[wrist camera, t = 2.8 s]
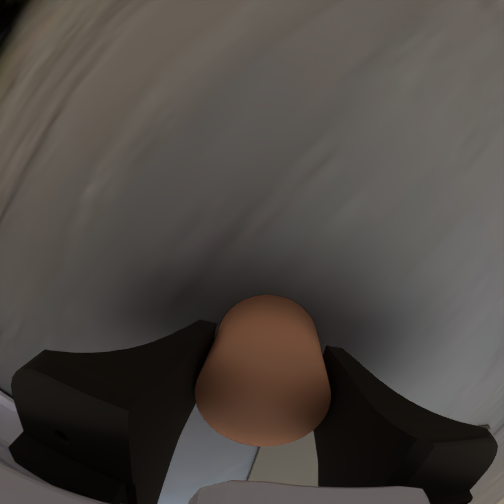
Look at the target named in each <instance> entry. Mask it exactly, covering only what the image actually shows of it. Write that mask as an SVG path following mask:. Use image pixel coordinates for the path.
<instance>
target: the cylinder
mask: <svg viewBox="0 0 504 504" xmlns="http://www.w3.org/2000/svg"><path fill="white" fill-rule="evenodd" d="M195 399H196V404H197V407H198V409H199V411H200V413H201V415H202V417H203V418H204V420H205V421H206V422H207V423H208V424H209V425H210V426H211V427H212V428H213V429H214V430H216V431H217V432H218V433H220V434H221V435H223V436H225V437H227V438H229V439H231V440H233V441H236V442H239V443H242V444H246V445H252V446H277V445H283V444H287V443H290V442H293V441H296V440H298V439H300V438H302V437H304V436H306V435H307V434H309V433H310V432H312V431H313V430H314V429H315V428H316V427H317V426H318V425H319V424H320V423H321V422H322V420H323V419H324V418H325V416H326V414H327V412H328V409H329V406H330V401H331V390H330V385H329V381H328V376H327V372H326V368H325V364H324V360H323V356H322V351H321V347H320V343H319V339H318V335H317V331H316V328H315V325H314V322H313V320H312V319H311V317H310V315H309V314H308V313H307V312H306V311H305V310H304V309H303V308H302V307H301V306H300V305H298V304H297V303H295V302H294V301H292V300H290V299H287V298H284V297H281V296H276V295H258V296H253V297H250V298H247V299H245V300H243V301H241V302H239V303H237V304H236V305H235V306H233V307H232V308H231V309H230V310H229V311H228V312H227V314H226V315H225V316H224V318H223V320H222V322H221V324H220V327H219V329H218V331H217V334H216V336H215V339H214V341H213V343H212V346H211V348H210V350H209V353H208V355H207V358H206V360H205V362H204V365H203V367H202V369H201V372H200V374H199V377H198V379H197V382H196V386H195Z"/></svg>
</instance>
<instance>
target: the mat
mask: <svg viewBox="0 0 504 504" xmlns="http://www.w3.org/2000/svg"><path fill="white" fill-rule="evenodd" d="M480 427H484V428H487V429H488V430H489V432H490V430H491V428H490V426H489V425H485V426H480ZM247 481H267V482H274V483H283V484H292V485H303V486H318V459H317V451H316V445H315V438H314V431H312V432H310V433H309V434H307V435H306V436H304V437H302V438H300V439H298V440H296V441H293V442H290V443H287V444H283V445H277V446H259V449H258V451H257V454H256V457H255V460H254V462H253V465H252V468H251V471H250V473H249V476H248V479H247Z"/></svg>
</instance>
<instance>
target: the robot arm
mask: <svg viewBox="0 0 504 504" xmlns="http://www.w3.org/2000/svg"><path fill="white" fill-rule="evenodd" d="M216 325H217V324H216V323H212V322H208V321H204V320H198V321H197V322H195V323H193V324H191V325H189V326H187V327H185V328H183V329H181V330H179V331H177V332H175V333H173V334H171V335H169V336H166V337H164V338H161V339H159V340H157V341H154V342H151V343H148V344H145V345H141V346H137V347H133V348H129V349H123V350H116V351H110V352H98V353H71V352H60V351H50V350H44V351H42V352H41V353H40V354H38V355H37V356H36V357H34V358H33V359H32V360H31V361H29V362H28V363H27V364H25V365H24V366H23V367H21V368H20V369H19V370H18V371H16V373H15V374H14V376H13V377H12V383H11V389H12V395H13V399H12V398H10V397H9V396H7V395H6V394H4V393H3V392H1V391H0V504H157V502H158V499H159V496H160V493H161V490H162V487H163V483H164V480H165V477H166V474H167V471H168V468H169V465H170V462H171V459H172V456H173V453H174V450H175V448H176V445H177V442H178V439H179V437H180V435H181V432H182V430H183V428H184V426H185V424H186V422H187V420H188V418H189V416H190V414H191V412H192V410H193V408H194V406H195V404H196V399H195V386H196V382H197V379H198V377H199V374H200V372H201V369H202V367H203V365H204V362H205V360H206V358H207V355H208V353H209V350H210V348H211V346H212V343H213V341H214V336H215V330H216ZM323 360H324V364H325V368H326V372H327V376H328V381H329V385H330V390H331V401H330V406H329V409H328V412H327V414H326V416H325V418H324V419H323V420H322V422H321V423H320V424H319V425H318V426H317V427H316V428H315V429H314V430H313V431H314V438H315V445H316V451H317V459H318V486H303V485H292V484H283V483H274V482H267V481H238V480H231V481H227V482H223V483H219V484H215V485H211V486H207V487H203V488H200V489H199V490H198V491H197V493H196V494H195V495H194V496H193V497H192V498H191V499H190V500H189V504H468V503H470V502H471V500H472V498H473V497H472V495H471V493H470V491H469V490H470V489H471V488H472V487H473V486H474V485H475V484H476V482H477V481H478V480H479V479H480V478H481V477H482V475H483V474H484V473H485V472H486V471H487V469H488V468H489V467H490V465H491V464H492V462H493V460H494V458H495V456H496V453H497V448H498V445H497V442H496V440H495V439H494V437H493V436H492V435H491V433H490V432H489V430H488V429H487V428H484V427H480V426H475V425H471V424H466V423H462V422H458V421H455V420H452V419H449V418H446V417H443V416H441V415H438V414H436V413H433V412H431V411H429V410H427V409H425V408H423V407H421V406H418V405H417V404H415V403H413V402H411V401H409V400H408V399H406V398H404V397H403V396H401V395H400V394H398V393H396V392H395V391H393V390H392V389H391V388H389V387H388V386H387V385H385V384H384V383H383V382H381V381H380V380H379V379H378V378H376V377H375V376H374V375H373V374H372V373H370V372H369V371H368V370H367V369H366V368H365V367H364V366H362V365H361V364H360V363H359V362H358V361H357V360H356V359H355V358H353V357H352V356H351V355H350V354H349V353H348V352H346V351H345V350H344V349H342V348H336V347H330V346H326V348H325V351H324V354H323Z"/></svg>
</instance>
